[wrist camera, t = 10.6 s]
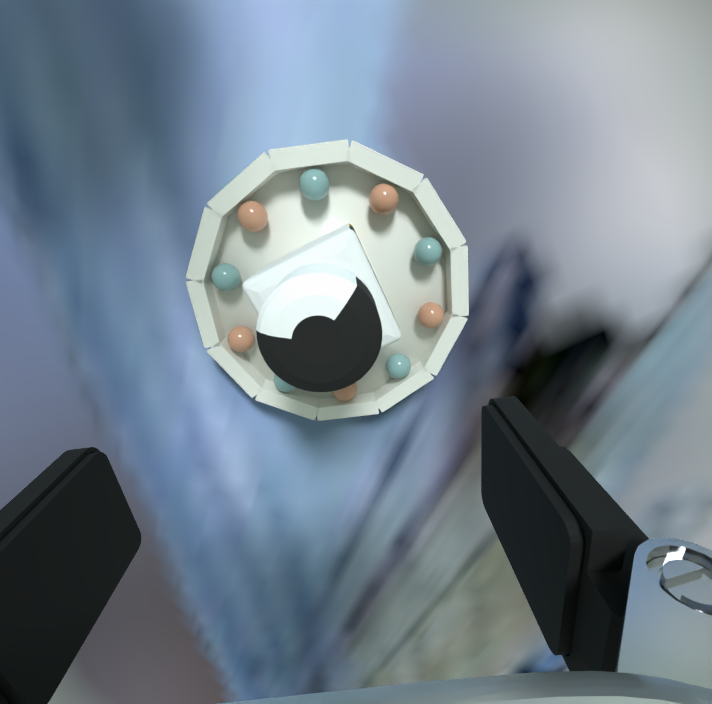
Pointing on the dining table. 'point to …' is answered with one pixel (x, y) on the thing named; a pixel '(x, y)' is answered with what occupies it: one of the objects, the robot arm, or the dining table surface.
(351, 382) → the medicine bottle
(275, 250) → the tray
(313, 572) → the dining table surface
